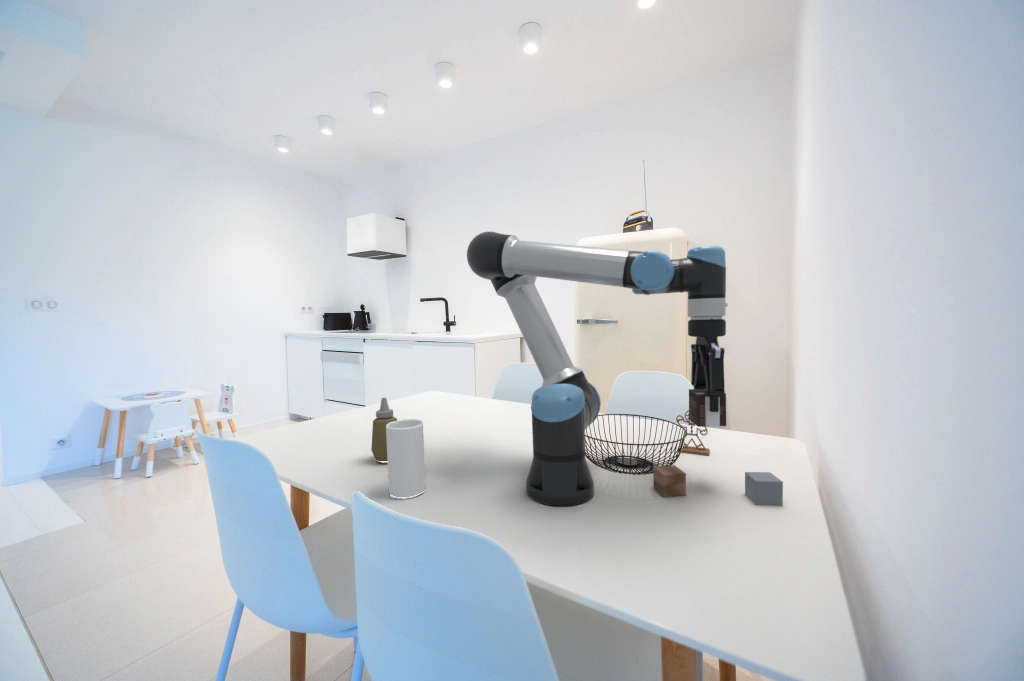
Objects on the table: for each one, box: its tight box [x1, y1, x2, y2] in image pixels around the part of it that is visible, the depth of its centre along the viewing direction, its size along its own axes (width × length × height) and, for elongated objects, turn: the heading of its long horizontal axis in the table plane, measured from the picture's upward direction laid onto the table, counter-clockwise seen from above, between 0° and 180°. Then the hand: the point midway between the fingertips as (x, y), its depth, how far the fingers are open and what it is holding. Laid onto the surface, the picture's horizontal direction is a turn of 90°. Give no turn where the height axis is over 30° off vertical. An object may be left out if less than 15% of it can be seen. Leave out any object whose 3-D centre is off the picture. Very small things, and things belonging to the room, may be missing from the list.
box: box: [688, 388, 727, 428], centre depth 90 cm, size 6×6×7 cm
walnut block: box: [652, 464, 687, 498], centre depth 89 cm, size 5×5×5 cm
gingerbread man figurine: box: [675, 409, 711, 457], centre depth 114 cm, size 9×4×12 cm, turn 61°
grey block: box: [744, 471, 784, 507], centre depth 84 cm, size 5×5×5 cm
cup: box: [386, 418, 427, 497], centre depth 93 cm, size 8×8×16 cm
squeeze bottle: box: [371, 397, 398, 461], centre depth 115 cm, size 8×8×18 cm
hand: (706, 421), depth 90 cm, fingers closed on box, 6 cm apart
